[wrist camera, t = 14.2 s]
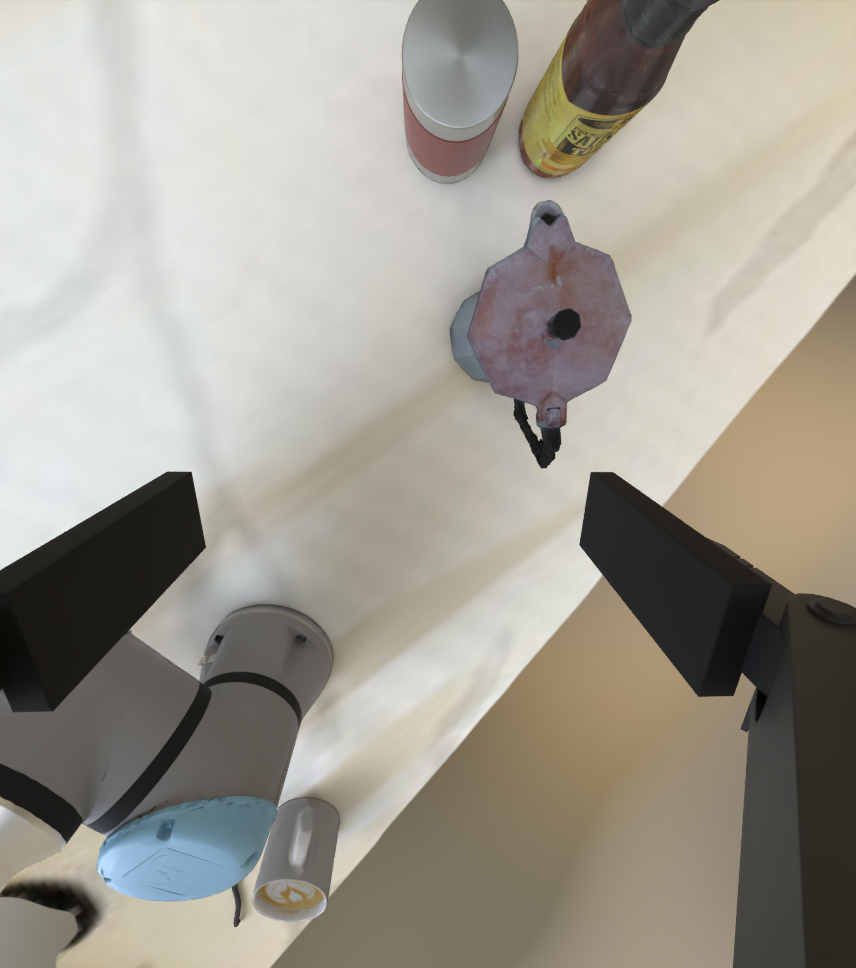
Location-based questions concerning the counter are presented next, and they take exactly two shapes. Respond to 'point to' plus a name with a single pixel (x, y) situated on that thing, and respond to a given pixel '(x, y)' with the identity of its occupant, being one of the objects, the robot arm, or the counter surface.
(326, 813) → the coffee mug
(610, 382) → the counter surface
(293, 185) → the counter surface
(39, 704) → the robot arm
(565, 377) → the moka pot
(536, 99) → the sauce bottle
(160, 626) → the counter surface
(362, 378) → the counter surface
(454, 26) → the tin can
